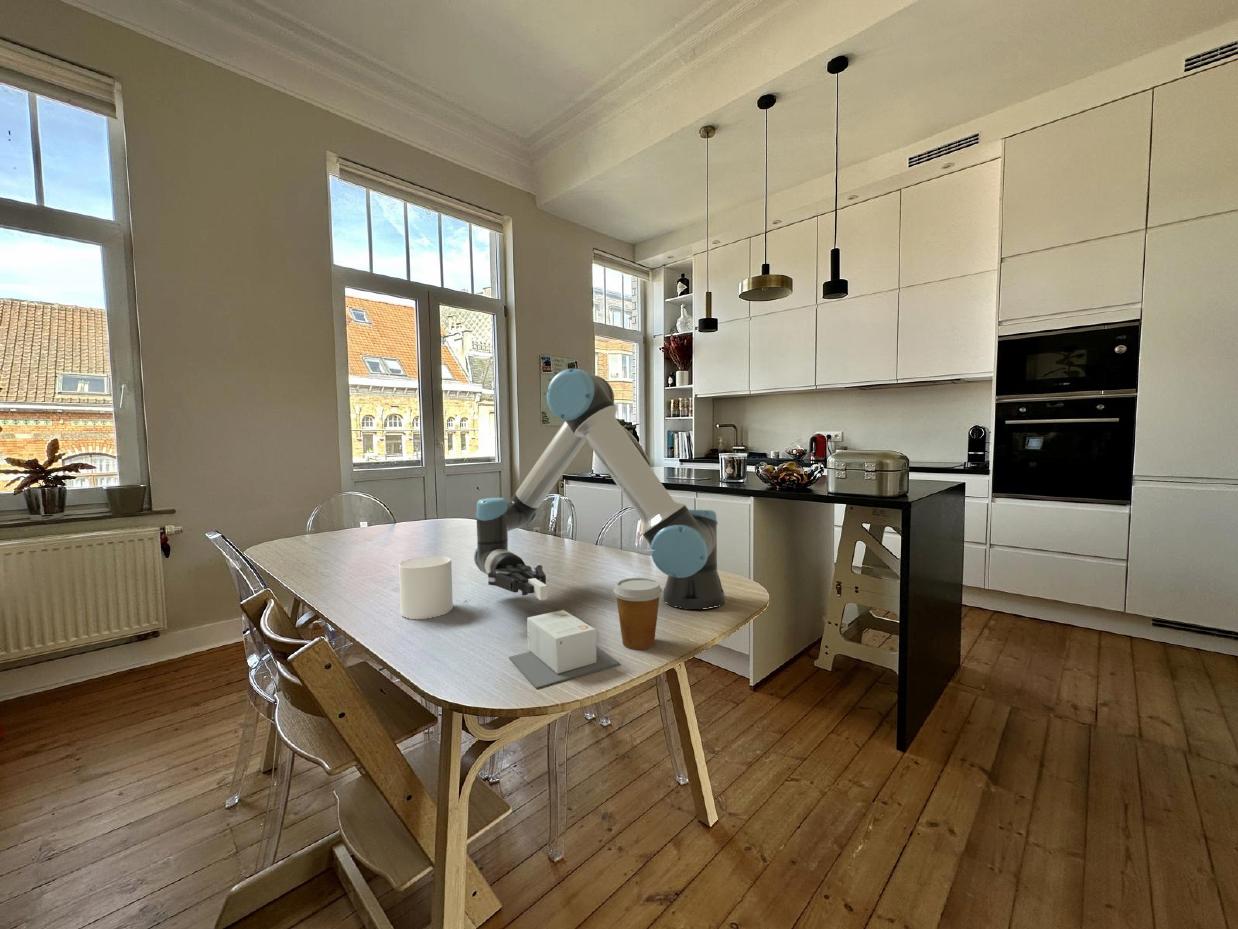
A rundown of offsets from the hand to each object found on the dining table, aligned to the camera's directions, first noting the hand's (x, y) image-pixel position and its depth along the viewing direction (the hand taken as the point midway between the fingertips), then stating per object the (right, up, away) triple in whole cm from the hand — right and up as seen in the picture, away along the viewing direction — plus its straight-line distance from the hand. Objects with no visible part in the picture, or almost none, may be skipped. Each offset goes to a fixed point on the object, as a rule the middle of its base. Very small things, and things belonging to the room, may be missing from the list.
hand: (543, 592), depth 96 cm
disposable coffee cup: (+19, -10, +1) cm, 21 cm away
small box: (0, -7, 0) cm, 7 cm away
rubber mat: (+5, -11, -7) cm, 14 cm away
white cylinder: (-32, -10, +22) cm, 40 cm away
